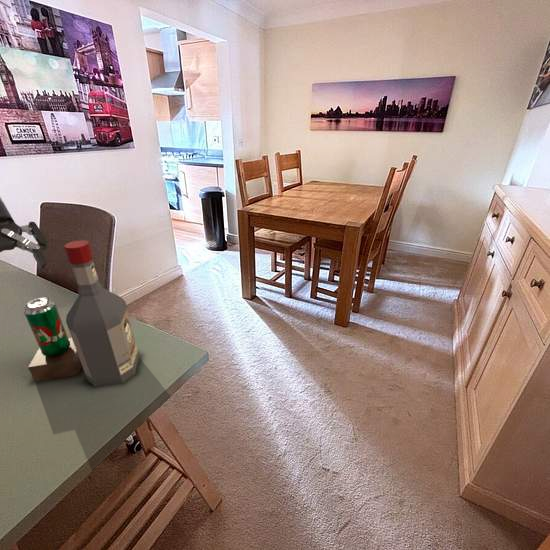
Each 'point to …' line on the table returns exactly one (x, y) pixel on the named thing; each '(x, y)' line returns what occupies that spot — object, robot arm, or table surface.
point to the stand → (55, 364)
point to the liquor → (99, 323)
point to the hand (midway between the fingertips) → (18, 274)
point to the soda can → (47, 326)
